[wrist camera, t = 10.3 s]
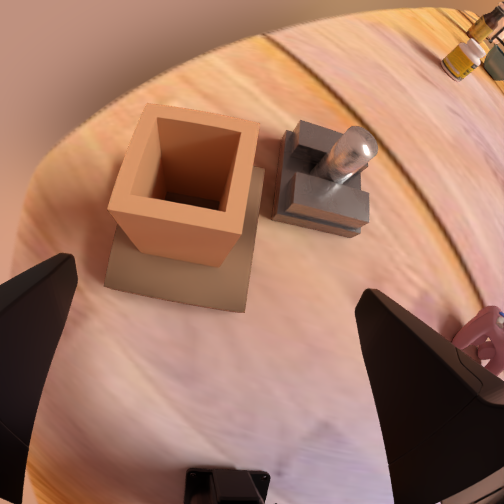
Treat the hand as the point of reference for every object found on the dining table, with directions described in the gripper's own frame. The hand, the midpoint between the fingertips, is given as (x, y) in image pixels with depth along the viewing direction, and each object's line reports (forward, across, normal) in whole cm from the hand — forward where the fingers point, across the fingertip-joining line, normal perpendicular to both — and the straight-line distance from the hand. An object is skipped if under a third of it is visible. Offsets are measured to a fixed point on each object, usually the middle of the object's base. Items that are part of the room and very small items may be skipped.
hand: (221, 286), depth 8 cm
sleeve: (+10, +2, +3) cm, 11 cm away
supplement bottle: (+40, -39, -23) cm, 61 cm away
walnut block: (+12, +2, +5) cm, 13 cm away
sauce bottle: (+71, -74, -55) cm, 116 cm away
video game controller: (+7, -30, +12) cm, 33 cm away
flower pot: (+55, -68, -38) cm, 96 cm away
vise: (+16, -8, +1) cm, 18 cm away
